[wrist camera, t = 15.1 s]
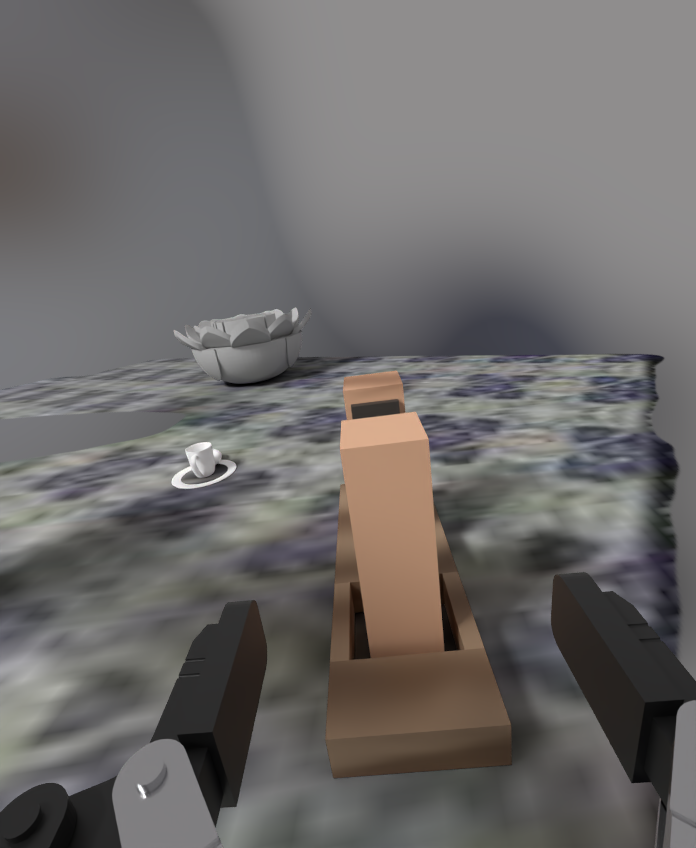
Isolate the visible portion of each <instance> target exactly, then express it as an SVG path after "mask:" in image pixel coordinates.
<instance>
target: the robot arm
mask: <svg viewBox="0 0 696 848" xmlns="http://www.w3.org/2000/svg"><path fill="white" fill-rule="evenodd" d="M551 625H552V631H553V635H554V638H555V641H556V643H557V645H558V647H559V649H560V651H561V653H562V655H563V657H564V659H565V660H566V662H567V664H568V666H569V668H570V670H571V671H572V673H573V675H574V677H575V679H576V681H577V683H578V684H579V686H580V688H581V690H582V692H583V694H584V696H585V697H586V699H587V701H588V703H589V705H590V707H591V708H592V710H593V712H594V714H595V716H596V718H597V720H598V721H599V723H600V725H601V727H602V729H603V731H604V733H605V734H606V736H607V738H608V740H609V742H610V744H611V746H612V747H613V749H614V751H615V753H616V755H617V757H618V758H619V760H620V762H621V764H622V766H623V768H624V770H625V771H626V773H627V775H628V777H629V779H630V781H631V783H643V782H652V784H653V786H654V788H655V789H656V791H657V793H658V794H659V796H660V802H659V807H658V818H657V828H656V838H655V848H696V681H695V680H694V679H693V677H692V676H691V675H690V674H689V672H688V671H687V670H686V669H685V668H684V666H683V665H682V664H681V663H680V661H679V660H678V659H677V658H676V657H675V655H674V654H673V653H672V652H671V651H670V649H669V648H668V647H667V646H666V645H665V643H664V642H663V641H662V642H661V640H660V637H659V636H658V635H657V634H656V632H655V631H654V630H653V629H652V628H651V627H649V626H648V623H647V622H646V620H645V619H644V618H643V617H642V615H641V614H640V613H639V612H638V611H637V609H636V608H635V607H634V606H633V605H632V604H630V603H629V602H627V601H626V600H625V599H623V598H622V597H620V596H619V595H617V594H616V593H614V592H613V591H610V592H602V591H601V590H600V588H599V587H598V586H597V584H596V583H595V582H594V580H593V579H592V578H591V577H590V575H589V574H587V573H585V572H582V573H570V574H559V575H555V576H554V579H553V592H552V610H551ZM185 660H186V662H185V663H184V664H183V666H182V669H181V671H180V674H179V679H177V681H176V683H175V685H174V688H173V690H172V692H171V695H170V697H169V700H168V702H167V704H166V707H165V709H164V711H163V714H162V716H161V718H160V721H159V723H158V726H157V728H156V730H155V733H154V735H153V737H152V739H151V741H150V743H149V744H147V745H146V746H144V747H142V748H141V749H140V750H138V751H137V752H136V753H135V754H134V755H132V756H131V757H130V759H129V760H128V761H127V762H126V763H125V765H124V766H123V767H122V769H121V770H120V772H119V774H118V775H117V776H116V777H114V778H112V779H110V780H108V781H105V782H103V783H100V784H98V785H96V786H93V787H91V788H88V789H86V790H83V791H81V792H78V793H76V794H73V795H71V796H68V794H67V792H66V790H65V789H64V788H63V787H62V786H61V785H59V784H56V783H46V784H41V785H38V786H36V787H33V788H31V789H29V790H27V791H26V792H24V793H23V794H21V795H20V796H18V797H17V798H16V799H14V800H13V801H12V802H11V803H10V804H8V805H7V806H6V807H5V808H4V809H3V810H2V811H1V812H0V848H223V846H222V843H221V841H220V838H219V836H218V834H217V831H216V829H215V828H216V824H217V819H218V815H219V811H220V808H223V807H236V806H237V801H238V797H239V792H240V787H241V783H242V778H243V773H244V769H245V764H246V759H247V755H248V750H249V745H250V740H251V736H252V731H253V726H254V722H255V717H256V712H257V708H258V703H259V698H260V694H261V689H262V684H263V680H264V675H265V670H266V664H267V645H266V639H265V635H264V631H263V627H262V622H261V618H260V614H259V610H258V606H257V603H256V601H255V600H251V601H240V602H228V603H227V604H226V605H225V607H224V610H223V612H222V615H221V618H220V620H219V623H218V624H210V625H207V626H206V627H205V628H204V629H203V630H202V632H201V633H200V634H199V635H198V636H197V637H196V638H195V640H194V641H193V643H192V645H191V647H190V650H189V652H188V655H187V657H186V659H185Z"/></svg>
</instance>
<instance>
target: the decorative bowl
mask: <svg viewBox="0 0 696 848" xmlns="http://www.w3.org/2000/svg"><path fill="white" fill-rule="evenodd" d="M310 316H311V309H309V311H308V312H307V314H306V316H305V318H304V319H303V320H302V322H301V323H300V324H299V325H298V323H299V316H298V311H297V308H294V309H292V310H291V311H290V312H289V313H288V314H283V312H282V311H280V310H277V309H275V310H272V311H265V312H263V313H261V314H252V315H243V314H239V315H237V316H235V317H232V318H228V319H223V320H219V319H213V320H211V321H204V320H203V321H202V322H200V324H199V326H198V327H197V326H194V328H193V327H191V326H189V325H185V329H186V333H187V336H188V338H189V339H188V338H186V337H185V336H183V335H182V334H180V333H179V332H177V331H176V330H174V334H175V337H176V338H177V340H178V341H179V342H181V343H182V344H183V345H185V346H187V347H189V348H191V349H192V352H193V355H194V357H195V359H196V361H197V363H198V364H199V366H200V367H201V368H202V369H203V370H204V371H205V372H206V373H207V374H208V375H209V376H211V377H212V378H214V379H216V380H217V381H220V380H223V381H226V382H230V383H237V384H246V383H255V382H260V381H264V380H268V379H271V378H273V377H275V376H277V375H279V374H281V373H282V372H283V371H285V370H286V369H287V368H288V367H292V366H293V364H294V363H295V361H296V360H297V358H298V356H299V353H300V350H301V345H302V331H301V329H302V328H303V327H304V326H305V325H306V324H307V322H308V321H309V319H310Z"/></svg>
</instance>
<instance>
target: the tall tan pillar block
mask: <svg viewBox="0 0 696 848" xmlns="http://www.w3.org/2000/svg"><path fill="white" fill-rule="evenodd" d="M340 453H341V460H342V466H343V473H344V480H345V487H346V493H347V500H348V507H349V514H350V520H351V527H352V534H353V541H354V547H355V554H356V561H357V568H358V574H359V581H360V588H361V595H362V601H363V608H364V615H365V622H366V628H367V635H368V642H369V649H370V655H371V658H379V657H390V656H401V655H412V654H423V653H434V652H444V639H443V626H442V613H441V599H440V586H439V573H438V559H437V546H436V532H435V519H434V506H433V492H432V479H431V466H430V452H429V439H428V437H427V435H426V433H425V430H424V428H423V426H422V424H421V422H420V420H419V418H418V416H417V414H416V412H410V413H402V414H394V415H385V416H377V417H369V418H361V419H353V420H345V421H342V422H341V440H340Z"/></svg>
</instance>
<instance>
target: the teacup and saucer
mask: <svg viewBox="0 0 696 848" xmlns="http://www.w3.org/2000/svg"><path fill="white" fill-rule="evenodd" d="M185 451H186V454H187V457H188V460H189V463H190V465H191V466H190V467H188V468H186V469H184V470H182V471H180V472H179V473H177V474H176V475H175V476H174V477H173V479H172V485H173V486H175V487H177V488H182V489H193V488H200V487H204V486H208V485H211V484H214V483H217V482H219V481H221V480H223V479H225V478H227V477H229V476H230V475H231V474H232V473H233V472H234V471H235V470H236V467H237V466H236V464H235V463H234V462H233V461H230V460H221V457H222V454H221V452H220V451H219V450H217V449H212V445H211V443H208V442H203V443H198V444H194V445H192V446H189V447H188V448H187V449H186V450H185ZM216 464H224V465H226V466H227V467H228V471H227V472H226V473H225V474H224V475H223V476H221V477H219V478H217V479H215V480H213V481H210V482H206V483H202V484H195V485H188V484H184V483H182V482H181V478H182V476H183V475H184V474H186V473H187V472H189V471H190V470H193V472H194V473H195V475H196V476H197V477H199V478H203V477H208V476H210V475H212V474H213V473H214V471H215V465H216Z"/></svg>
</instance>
